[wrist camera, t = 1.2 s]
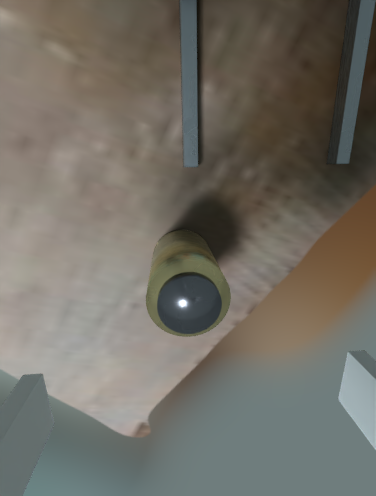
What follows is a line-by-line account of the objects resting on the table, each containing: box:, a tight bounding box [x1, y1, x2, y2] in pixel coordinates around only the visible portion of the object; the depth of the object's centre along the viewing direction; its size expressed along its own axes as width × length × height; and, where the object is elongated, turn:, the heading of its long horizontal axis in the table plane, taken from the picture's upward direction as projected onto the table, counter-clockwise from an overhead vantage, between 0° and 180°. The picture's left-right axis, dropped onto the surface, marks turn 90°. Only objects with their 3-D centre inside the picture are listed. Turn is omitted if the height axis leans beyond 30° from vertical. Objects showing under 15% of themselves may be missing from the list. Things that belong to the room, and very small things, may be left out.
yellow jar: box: [146, 230, 231, 337], centre depth 22 cm, size 6×6×10 cm
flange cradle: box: [179, 0, 375, 167], centre depth 18 cm, size 21×15×6 cm
